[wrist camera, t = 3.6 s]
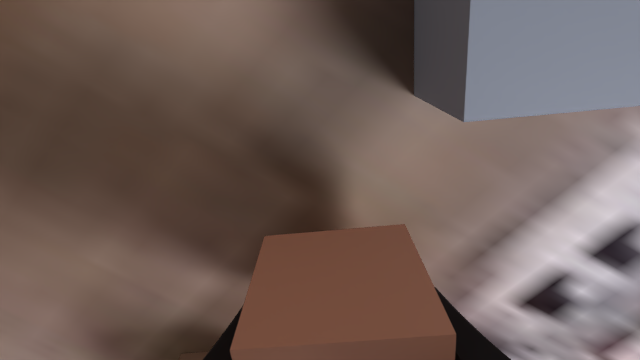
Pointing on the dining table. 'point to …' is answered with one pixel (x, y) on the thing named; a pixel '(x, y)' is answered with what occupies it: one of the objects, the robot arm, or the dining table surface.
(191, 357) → the walnut block
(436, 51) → the slate block
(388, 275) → the terracotta block
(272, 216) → the dining table surface
